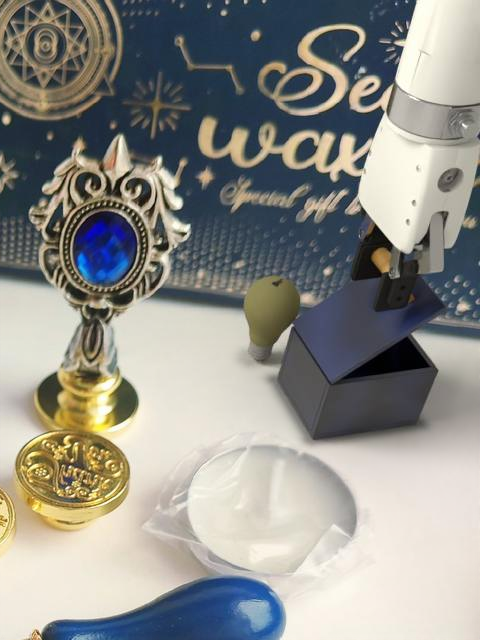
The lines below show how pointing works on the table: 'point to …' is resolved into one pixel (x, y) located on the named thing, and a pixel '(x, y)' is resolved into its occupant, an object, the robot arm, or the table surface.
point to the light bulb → (269, 313)
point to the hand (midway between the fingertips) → (377, 291)
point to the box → (357, 389)
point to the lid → (363, 322)
